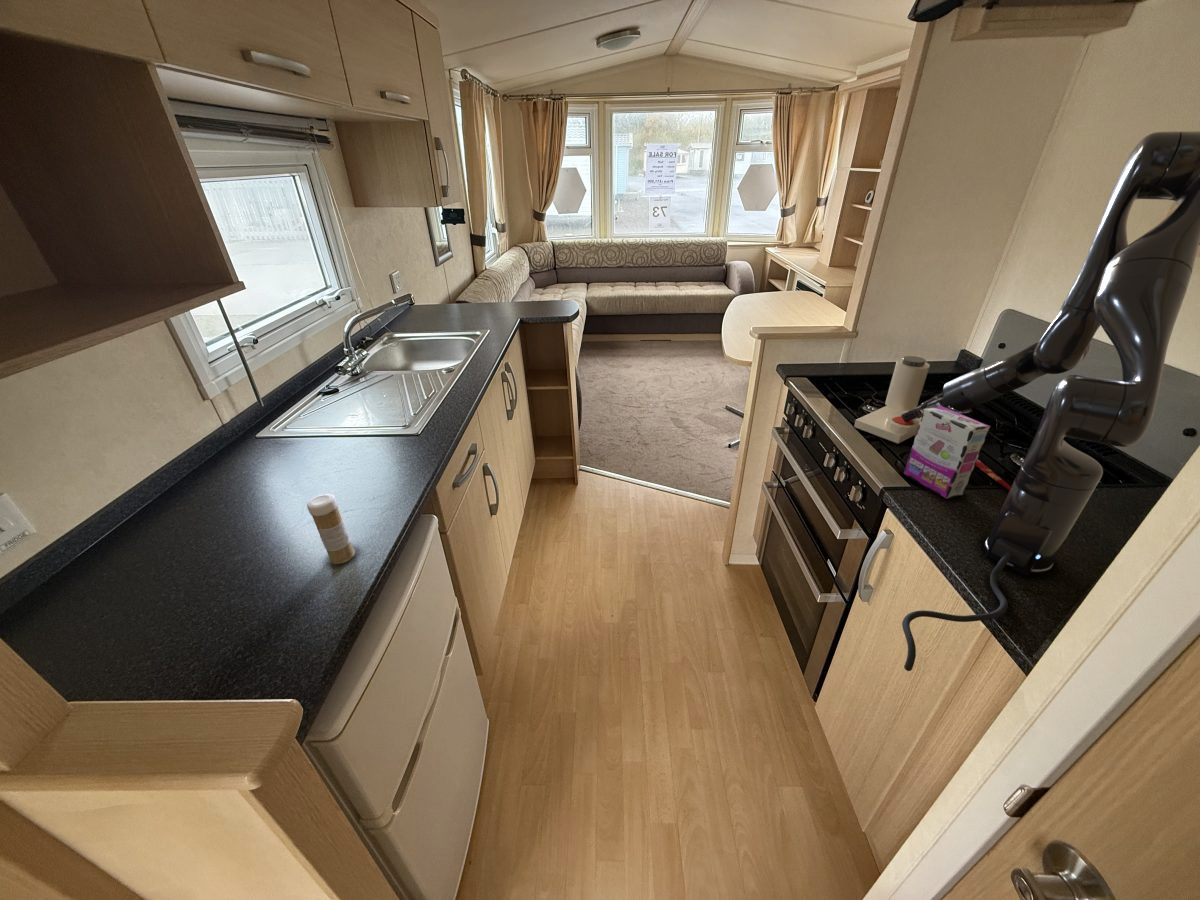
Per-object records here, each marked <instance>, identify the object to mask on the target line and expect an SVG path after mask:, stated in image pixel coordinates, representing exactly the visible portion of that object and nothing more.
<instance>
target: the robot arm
mask: <svg viewBox="0 0 1200 900" xmlns="http://www.w3.org/2000/svg"><path fill="white" fill-rule="evenodd" d="M1136 200H1150V201H1151V200H1153V201H1154V200H1155V201H1173V202H1175V208H1174V210H1173V211H1172V212H1171V213H1169V214H1168V215H1167V216H1166V217H1165V218H1163V220H1162V221H1160V222H1159V223H1158V224H1156V225H1155V226H1154V227H1153V228H1151V229H1149V230H1148V231H1147V232H1145V233H1144V234H1142V235H1141V236H1139V237H1138V238H1137V239H1135V240H1134V241H1132V242H1131V243H1130V244H1129V242H1128V231H1127V228H1128V227H1127V225H1128V220H1129V219H1128V218H1129V215H1130V212H1131V209H1132V207H1133V205H1134V203H1135V201H1136ZM1199 245H1200V130H1198V131H1197V130H1190V131H1189V130H1188V131H1155V132H1152V133H1149V134H1147V135H1146V136H1145V137H1143V138H1142V139H1141V140H1140V141H1138V143H1137V144H1136V146H1135V147H1134V148H1133V149H1132V151H1131V152H1130V154H1128V157H1127V159H1126V160H1125V162H1124V163H1123V166H1122V168H1121V169H1120V172H1119V174H1118V176H1117V178H1116V181H1115V183H1114V185H1113V188H1112V190H1111V193H1110V195H1109V198H1108V200H1107V203H1106V205H1105V208H1104V211H1103V212H1102V214H1101V218H1100V219H1099V222H1098V225H1097V228H1096V229H1095V232H1094V236H1093V238H1092V241H1091V243H1090V246H1089V249H1088V252H1087V254H1086V256H1085V259H1084V262H1083V264H1082V266H1081V268H1080V270H1079V272H1078V274H1077V276H1076V278H1075V280H1074V282H1073V284H1072V286H1071V287H1070V289H1069V291H1068V293H1067V295H1066V297H1065V298H1064V301H1063V302H1062V305H1061V307H1060V309H1059V311H1058V313H1057V315H1056V316H1055V318H1054V320H1053V321H1052V323H1050V325H1049V326H1048V328H1047V330H1046V331H1045V332H1044V334H1043V335H1042V337H1041V338H1040V340H1039V341H1037V342H1035V343H1033V344H1031V345H1029V346H1027V347H1025V348H1023V349H1021V350H1020V351H1017V352H1016V353H1014V354H1012V355H1008V356H1006V357H1003V358H1000V359H999V360H997V361H994V362H992V363H990V364H988V365H985V366H982V367H979V368H976V369H974V370H971V371H969V372H967V373H965V374H962V375H960V376H958V377H956V378H953V379H952V380H950V381H947V382H945V383H944V385H943V387H942V392H941V393H938V394H937V395H935V396H933V397H930V399H927V400H925V401H924V402H922V403H920V405H918V406H917V407H916V408H914V409H913V410H911V411H908V412H906V413H904V414H902V415H901V417H902V418H903V420H904V421H905V422H908V421H910V420H913V419H915V418H921V417H922V415H923V412H924V409H928V408H933V407H938V406H942V407H945V408H947V409H950V408H952V410H954V411H956V412H965V411H967V410H970V409H973V408H975V407H977V406H980V405H982V404H986V403H987V402H991V401H993V400H995V399H997V398H999V397H1000V396H1003V395H1005V394H1007V393H1010V392H1013V391H1015V390H1018V389H1020V388H1023V387H1025V386H1027V385H1028V384H1030V383H1032V382H1033V381H1035V380H1036V379H1037V378H1040V377H1042V376H1045V375H1047V374H1048V375H1060V374H1063V373H1066V372H1069V371H1071V370H1073V369H1074V368H1075V367H1077V366H1078V365H1079V364H1080V363H1081V362H1082V361H1084V360H1085V359H1086V358H1087V356H1088V355H1089V354H1090V353H1091V350H1092V347H1093V346H1092V344H1093V343H1092V339H1093V338H1094V336H1095V334H1096V333H1097V331H1098V329H1099V328H1100V327H1101V328H1102V330H1103V331H1104V333H1105V334H1106V336H1107V337H1108V339H1109V340H1110V342H1111V343H1112V344H1113V346H1114V348H1115V350H1116V352H1117V354H1118V357H1119V360H1120V364H1121V370H1122V372H1121V373H1122V380H1117V379H1109V378H1101V377H1094V376H1087V375H1080V374H1069V375H1066V376H1064V377H1063V378H1062V379H1060V380H1059V381H1058V382H1057V384H1056V385H1055V387H1054V388H1053V390H1052V392H1051V394H1050V396H1049V398H1048V401H1047V403H1046V406H1045V408H1044V412H1043V414H1042V417H1041V421H1040V423H1039V425H1038V427H1037V430H1036V433H1035V435H1034V437H1033V439H1032V442H1031V444H1030V447H1029V449H1028V450H1027V452H1026V455H1025V457H1024V459H1023V461H1022V463H1021V465H1020V468H1019V470H1018V472H1017V474H1016V476H1015V479H1014V480H1013V482H1012V485H1011V489H1010V491H1009V490H1008V493H1007V495H1006V498H1005V500H1004V502H1003V504H1002V506H1001V508H1000V510H999V513H998V515H997V517H996V520H995V522H994V524H993V526H992V529H991V531H990V533H989V534H988V537H987V538H986V540H985V541H984V545H983V546H984V550H985V552H986V553H985V555H984V556H985V557H986V558H988V559H991V560H992V561H994V562H996V563H997V564H996V565H995V567H994V568H993V570H992V571H991V573H990V577H989V583H990V587H991V590H992V591H993V593H994V595H995V597H997V599H998V601H999V606H998V607H997V609H995V610H992V611H991V612H986V613H979V614H968V615H960V614H959V615H958V614H950V613H945V612H940V611H933V610H924V609H923V610H922V609H921V610H915V611H911V612H909V613H907V614H906V615H905V616H904V617H903V619H902V622H901V625H902V630H903V631H902V632H903V633H904V637H905V640H906V644H907V655H906V660H905V662H904V666H903V668H904V670H905V671H907V672H911V671H913V668H914V666H915V661H916V657H917V648H916V642H915V639H914V636H913V633H912V630H911V622H912V621H913V620H915V619H917V618H923V617H925V618H933V619H937V620H938V619H939V620H944V621H949V622H957V623H971V622H981V621H989V620H994V619H997V618H1000V617H1001V616H1003V615H1004V614H1005V613H1006V612H1007V610H1008V608H1009V603H1008V600H1007V598H1006V596H1005V595H1004V594H1003V592H1002V591H1001V589H1000V587H999V584H998V579H999V575H1000V574H1001V572H1002V571H1003V569H1005V567H1007V568H1009V569H1011V570H1013V571H1015V572H1017V573H1019V574H1021V575H1023V576H1026V577H1028V576H1029V575H1031V574H1032V575H1043V574H1046V573H1048V572H1049V571H1051V569H1052V567H1053V566H1054V562H1055V561H1056V559H1057V558H1058V555H1059V554H1060V551H1061V550H1062V548H1063V546H1064V544H1065V543H1066V541H1067V539H1068V537H1069V536H1070V534H1071V532H1072V530H1073V529H1074V526H1075V524H1076V523H1077V521H1078V519H1079V517H1080V516H1081V514H1082V513H1083V510H1084V509H1085V507H1086V505H1087V504H1088V502H1089V500H1090V498H1091V497H1092V495H1093V493H1094V491H1095V490H1096V487H1098V484H1099V483H1100V481H1101V479H1102V477H1103V475H1104V468H1103V466H1102V465H1101V464H1100V463H1099V461H1097V460H1096V459H1095V458H1093V457H1092V456H1090V455H1088V454H1086V453H1085V452H1083V451H1081V450H1079V449H1077V448H1075V447H1073V446H1072V445H1071V444H1069V443H1068V442H1067V441H1066V440H1065V439H1064V438H1069V439H1077V440H1081V441H1086V442H1090V443H1091V442H1092V443H1098V444H1101V445H1107V446H1113V447H1122V448H1126V447H1131V446H1134V445H1135V444H1136V443H1138V442H1139V441H1140V440H1141V439H1142V438H1143V437H1144V435H1145V434H1146V432H1147V431H1148V430H1149V427H1150V425H1151V422H1152V420H1153V417H1154V413H1155V410H1156V406H1157V401H1158V397H1159V392H1160V387H1161V382H1162V377H1163V371H1164V366H1165V360H1166V356H1167V351H1168V348H1169V347H1168V346H1169V343H1170V340H1171V336H1172V333H1173V330H1174V327H1175V324H1176V321H1177V319H1178V316H1179V313H1180V311H1181V307H1182V305H1183V302H1184V299H1185V296H1186V294H1187V291H1188V288H1189V284H1190V280H1191V277H1192V274H1193V270H1194V266H1195V262H1196V258H1197V254H1198V250H1199Z"/></svg>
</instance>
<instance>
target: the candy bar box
mask: <svg viewBox="0 0 1200 900" xmlns="http://www.w3.org/2000/svg"><path fill="white" fill-rule="evenodd" d="M990 428H991V425H989V424H986V423H984V422H981V421H979V420H976V419H974V418H971V417H969V416H966V415H964V414H962V413H960V412H958V411H955V410H953V409H950V408H948V409H947V408H945V407H942V406H938V407H933V408H928V409H924V412H923V415H922V418H921V421H920V424H919V427H918V430H917V434H916V435H915V436H914V440H913V443H912V447H911V449H910V453H909V456H908V459H907V462H906V465H905V468H904V471H903V474H904V475H905V476H907V477H908V478H910V479H912V480H913V481H915V482H917V483H919V484H920V485H922V486H924V487H925V488H927V489H928V490H930V491H932V492H934V493H936V494H937V495H939V496H941V497H943V498H944V499H952V498H955V497H956V498H957V497H960V496H964V494H965V491H966V488H967V486H968V484H969V481H970V478H971V476H972V474H973V471H974V469H975V467H976V466H975V464H976V461H977V459H979V457H980V454H981V451H982V449H983V446H984V443H985V441H986V438H987V436H988V434H989V431H990Z"/></svg>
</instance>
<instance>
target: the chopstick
mask: <svg viewBox="0 0 1200 900" xmlns="http://www.w3.org/2000/svg"><path fill="white" fill-rule="evenodd" d="M974 467H977V468H978V469H979V470H981V471H982V472H983V473H984V474H986V475H987V476H989V477H990V478H991V479H993V480H995V482H997V483H998V484H999V485H1001V486H1002V487H1003V488H1005V489H1006V490H1007V491H1008V492H1009V491H1010V489H1011V487H1012V485H1010V484H1008V483H1007V482H1006V481H1005V480H1004V479H1003V478H1001V477H1000V476H999V475H997V474H996V473H995V472H994V471H993V470H991V468H990V467H988V466H987V465H985V463H983V462H982V461H981V460H980V459H979V458H977V461H976V464H975V466H974Z"/></svg>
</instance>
